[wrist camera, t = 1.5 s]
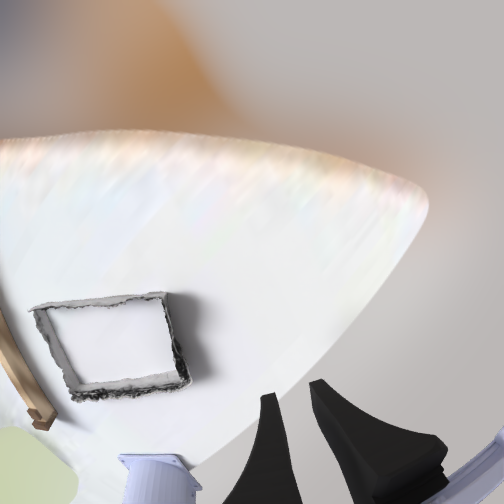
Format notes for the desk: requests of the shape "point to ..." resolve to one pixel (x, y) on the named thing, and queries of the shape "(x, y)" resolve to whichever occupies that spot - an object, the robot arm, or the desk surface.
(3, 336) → the ledge
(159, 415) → the desk surface
